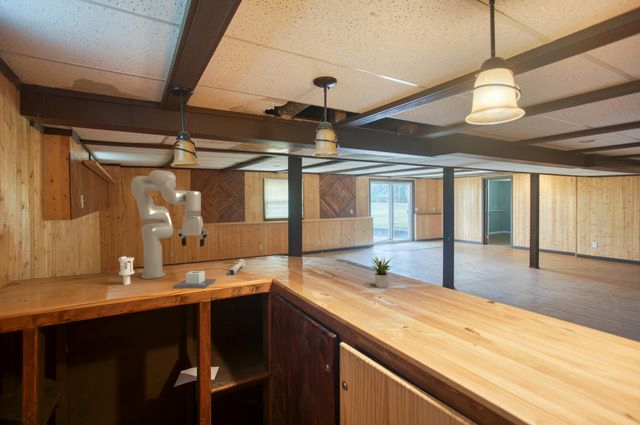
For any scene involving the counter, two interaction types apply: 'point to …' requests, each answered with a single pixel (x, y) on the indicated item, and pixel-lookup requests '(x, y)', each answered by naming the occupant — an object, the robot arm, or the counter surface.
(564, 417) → the counter surface
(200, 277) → the collar
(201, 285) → the grey plate with knob
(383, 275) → the house plant
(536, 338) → the counter surface
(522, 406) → the counter surface
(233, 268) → the white flashlight
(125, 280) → the white upright piece
